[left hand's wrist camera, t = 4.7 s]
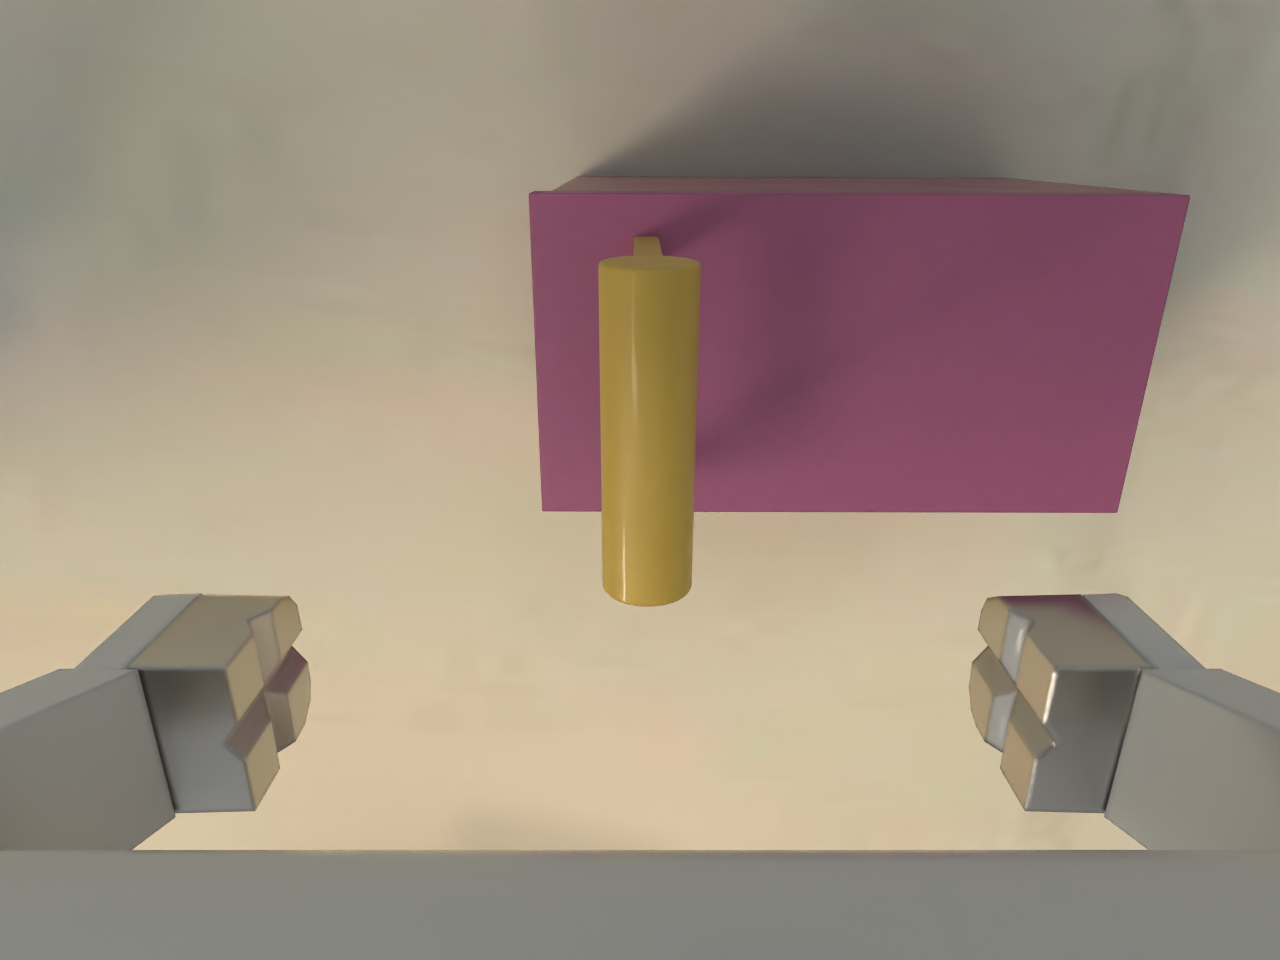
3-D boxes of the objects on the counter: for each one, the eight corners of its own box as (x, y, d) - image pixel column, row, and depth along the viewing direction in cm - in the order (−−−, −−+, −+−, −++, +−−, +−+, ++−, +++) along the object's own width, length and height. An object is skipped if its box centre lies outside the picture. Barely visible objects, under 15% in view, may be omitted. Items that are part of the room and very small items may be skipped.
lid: (545, 498, 27) (507, 645, 19) (532, 190, 24) (480, 214, 16) (1101, 500, 28) (1290, 646, 20) (1169, 193, 24) (1433, 218, 16)
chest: (581, 400, 38) (559, 498, 28) (576, 176, 35) (549, 190, 24) (972, 401, 38) (1100, 499, 28) (1007, 178, 35) (1168, 193, 24)
